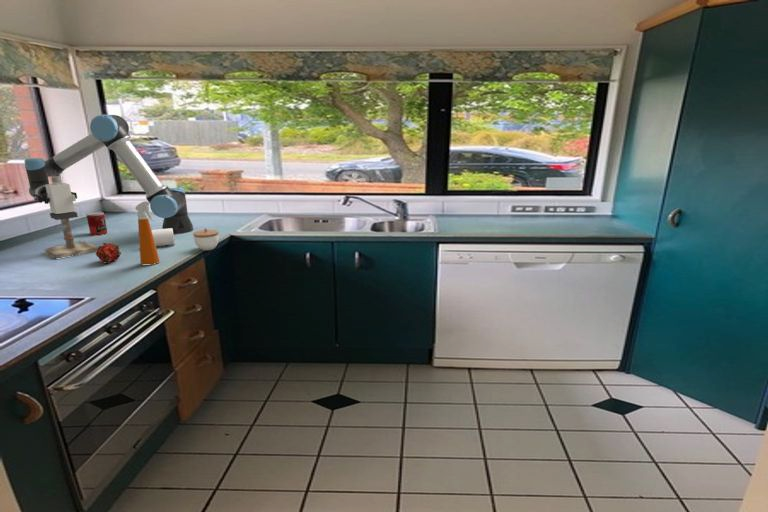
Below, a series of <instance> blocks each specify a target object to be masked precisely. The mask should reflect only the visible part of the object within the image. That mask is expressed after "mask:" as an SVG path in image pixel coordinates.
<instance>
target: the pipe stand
mask: <svg viewBox="0 0 768 512" xmlns="http://www.w3.org/2000/svg"><path fill="white" fill-rule="evenodd" d="M50 177H51V183H52V184H53V185H62V184H61V183H62V180H61V176H60V175H56V176H50ZM60 214H64V213H60ZM60 222H61V228H62V233H63V236H64V237H63V239H64V241H65V244H62V245H57V246H51V247H46V248H44V252H46V253H45V254H47V253H48V254H49V255H48V254H47V255H48V256H50V255H51V256H50V257H52V256H53V257H55V258H62V257H67V258H69V257H68V256H72V255H77V256H80V255H79V254H82V255H84V254H83V253H87V254H90V253H89V252H92V253H95V252H94V251H97V249H98V247H97V246H96V245H94V244H92V243H90V242H87V241H80V242H75V239H74V236H73V233H72V232H73V231H72V228H71V224H70V223H71V222H70V218H67V219H60ZM53 257H52V258H53ZM72 257H73V256H72ZM55 258H54V259H55ZM62 259H63V258H62Z"/></svg>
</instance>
